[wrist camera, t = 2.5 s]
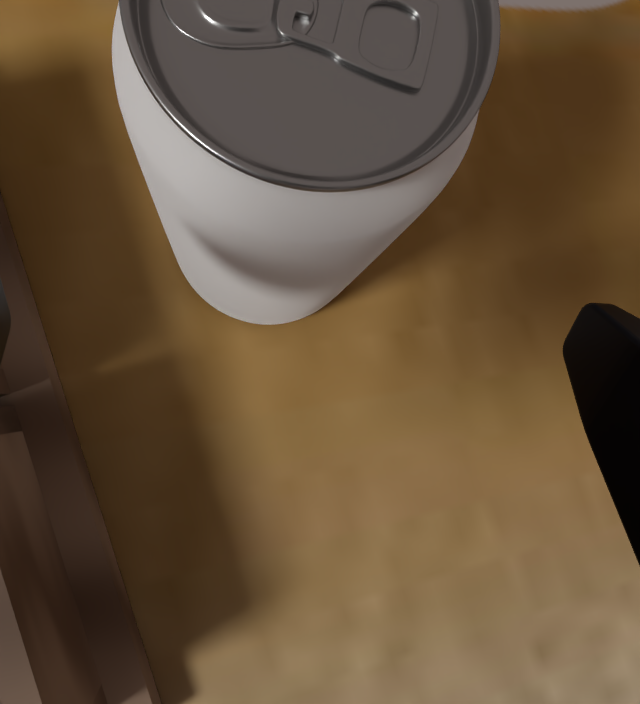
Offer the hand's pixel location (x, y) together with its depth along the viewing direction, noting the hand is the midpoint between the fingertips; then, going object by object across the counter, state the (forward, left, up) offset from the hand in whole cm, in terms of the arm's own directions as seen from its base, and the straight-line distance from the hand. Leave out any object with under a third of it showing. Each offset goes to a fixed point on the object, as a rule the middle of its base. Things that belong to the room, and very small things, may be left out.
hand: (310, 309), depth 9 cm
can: (+4, -1, -11) cm, 12 cm away
